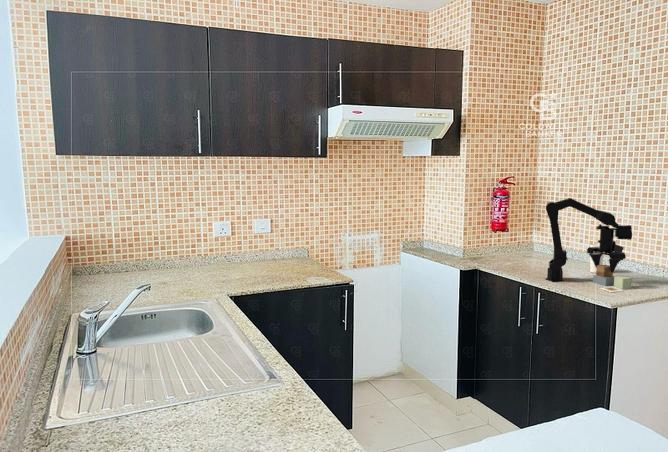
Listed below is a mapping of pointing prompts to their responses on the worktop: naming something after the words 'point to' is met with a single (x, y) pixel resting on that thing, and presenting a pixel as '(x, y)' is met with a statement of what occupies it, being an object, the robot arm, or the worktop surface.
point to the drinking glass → (592, 265)
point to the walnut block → (604, 271)
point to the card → (611, 289)
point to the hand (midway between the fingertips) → (604, 270)
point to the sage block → (622, 282)
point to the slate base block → (603, 280)
